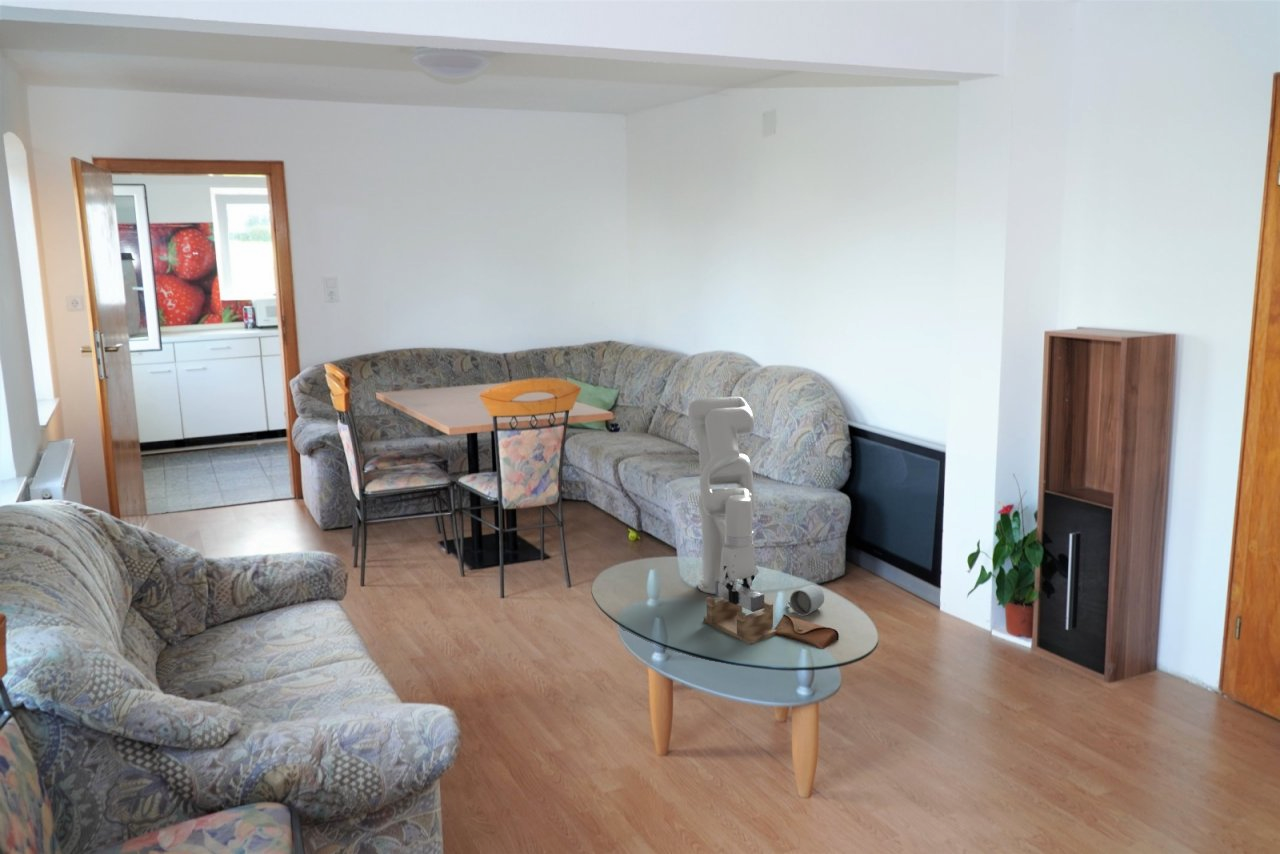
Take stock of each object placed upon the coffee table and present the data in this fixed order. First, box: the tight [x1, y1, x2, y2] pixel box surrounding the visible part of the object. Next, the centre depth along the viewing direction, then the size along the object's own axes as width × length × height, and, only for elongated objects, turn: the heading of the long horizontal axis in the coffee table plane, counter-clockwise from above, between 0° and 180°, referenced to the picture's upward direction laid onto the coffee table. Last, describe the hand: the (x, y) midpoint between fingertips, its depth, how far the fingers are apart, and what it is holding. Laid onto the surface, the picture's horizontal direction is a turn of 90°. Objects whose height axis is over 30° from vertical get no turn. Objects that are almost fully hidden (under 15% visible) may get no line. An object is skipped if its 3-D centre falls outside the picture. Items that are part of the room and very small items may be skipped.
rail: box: [715, 578, 765, 613], centre depth 289 cm, size 4×16×4 cm, turn 36°
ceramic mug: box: [787, 584, 825, 616], centre depth 301 cm, size 11×8×8 cm
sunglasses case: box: [774, 614, 840, 650], centre depth 284 cm, size 18×7×7 cm, turn 51°
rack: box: [703, 596, 777, 645], centre depth 290 cm, size 11×20×8 cm, turn 36°
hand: (739, 600), depth 289 cm, fingers closed on rail, 4 cm apart
